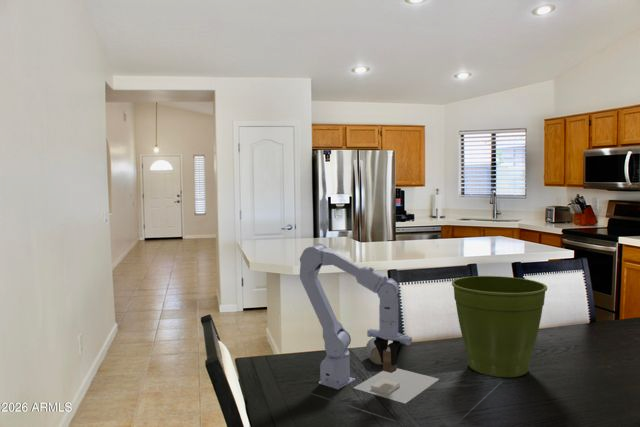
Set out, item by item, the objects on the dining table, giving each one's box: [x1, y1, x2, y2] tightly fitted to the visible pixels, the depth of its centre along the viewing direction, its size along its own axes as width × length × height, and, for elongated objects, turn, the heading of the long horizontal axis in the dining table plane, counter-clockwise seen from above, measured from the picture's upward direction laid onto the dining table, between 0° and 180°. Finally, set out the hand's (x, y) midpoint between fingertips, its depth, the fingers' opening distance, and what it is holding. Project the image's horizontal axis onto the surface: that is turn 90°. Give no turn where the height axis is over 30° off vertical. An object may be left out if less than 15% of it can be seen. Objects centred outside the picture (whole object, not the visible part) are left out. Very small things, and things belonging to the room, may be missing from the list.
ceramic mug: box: [365, 337, 389, 366], centre depth 174 cm, size 11×8×8 cm
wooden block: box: [382, 347, 398, 373], centre depth 152 cm, size 3×3×6 cm
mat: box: [353, 368, 440, 405], centre depth 154 cm, size 22×18×1 cm
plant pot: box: [451, 275, 548, 378], centre depth 166 cm, size 30×30×29 cm
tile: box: [371, 378, 400, 394], centre depth 151 cm, size 1×6×7 cm
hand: (389, 363), depth 152 cm, fingers closed on wooden block, 3 cm apart
